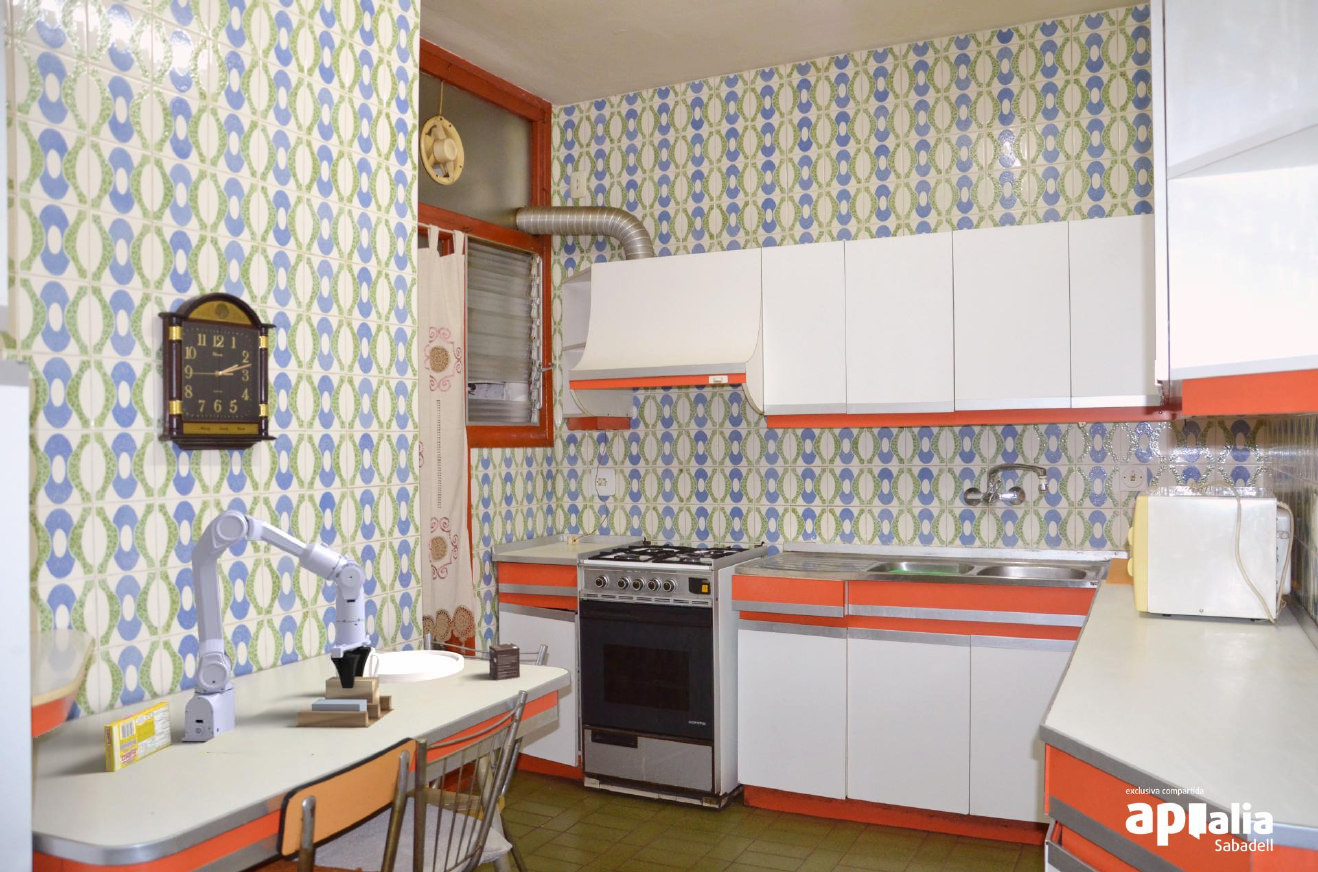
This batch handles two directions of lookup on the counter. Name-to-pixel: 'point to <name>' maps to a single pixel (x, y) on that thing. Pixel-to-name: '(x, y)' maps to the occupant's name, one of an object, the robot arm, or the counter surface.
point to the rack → (347, 716)
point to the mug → (370, 665)
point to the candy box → (137, 736)
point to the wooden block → (354, 689)
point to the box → (504, 661)
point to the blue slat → (339, 705)
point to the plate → (417, 665)
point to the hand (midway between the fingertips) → (351, 685)
